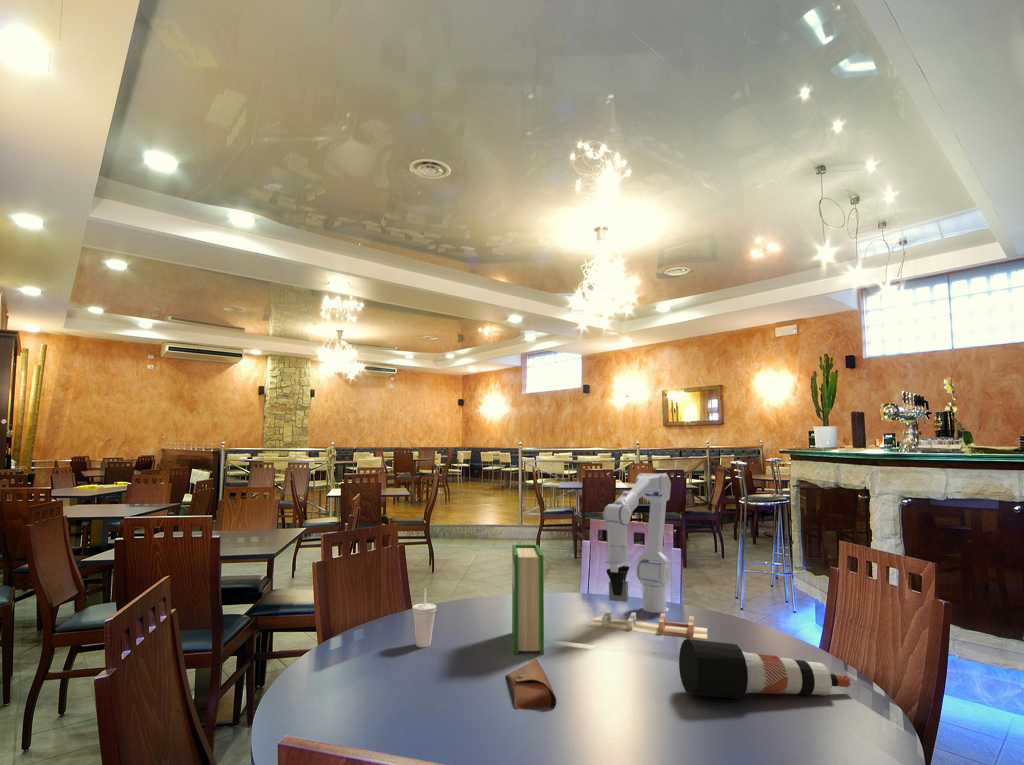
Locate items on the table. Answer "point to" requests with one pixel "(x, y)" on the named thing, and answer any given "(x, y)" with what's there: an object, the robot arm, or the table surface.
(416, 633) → the smoothie
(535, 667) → the sunglasses case
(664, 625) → the wooden board with blocks
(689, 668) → the striped tapered cone
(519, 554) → the hardback book
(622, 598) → the plug
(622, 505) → the robot arm
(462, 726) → the table surface
